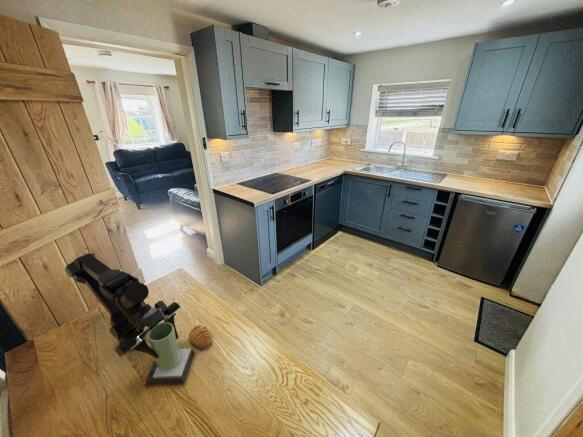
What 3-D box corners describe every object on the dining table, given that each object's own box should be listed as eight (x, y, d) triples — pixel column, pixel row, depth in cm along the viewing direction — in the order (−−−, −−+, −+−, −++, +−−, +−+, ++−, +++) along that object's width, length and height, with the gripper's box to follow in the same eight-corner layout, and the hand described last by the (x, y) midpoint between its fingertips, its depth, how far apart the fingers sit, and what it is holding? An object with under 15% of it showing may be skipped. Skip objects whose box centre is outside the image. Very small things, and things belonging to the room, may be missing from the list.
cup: (152, 370, 73) (143, 341, 68) (163, 350, 80) (155, 322, 74) (175, 370, 74) (167, 341, 68) (183, 350, 80) (177, 322, 74)
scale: (147, 384, 74) (144, 378, 72) (162, 354, 83) (160, 348, 81) (183, 383, 74) (181, 377, 73) (194, 353, 83) (192, 347, 82)
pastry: (216, 342, 87) (214, 335, 85) (198, 354, 83) (196, 347, 81) (204, 327, 93) (202, 320, 92) (187, 337, 89) (185, 330, 87)
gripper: (109, 325, 61) (148, 371, 61) (170, 282, 76) (201, 319, 76) (100, 334, 67) (136, 376, 67) (159, 293, 82) (188, 327, 83)
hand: (168, 347), depth 73 cm, fingers closed on cup, 7 cm apart
